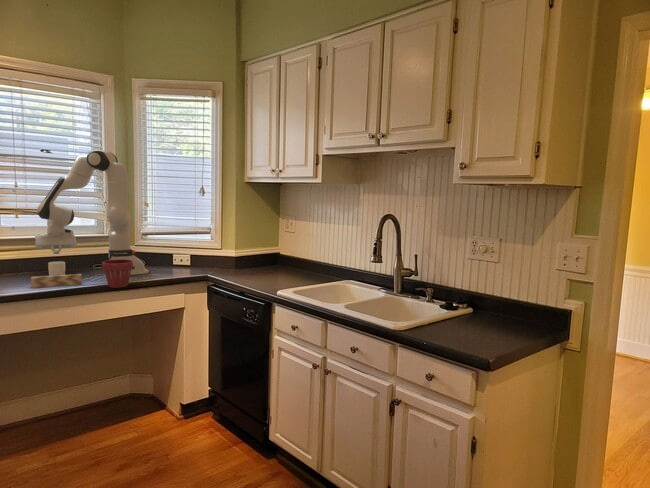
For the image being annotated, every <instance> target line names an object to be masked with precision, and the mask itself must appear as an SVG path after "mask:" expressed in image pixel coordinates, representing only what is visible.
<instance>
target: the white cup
mask: <svg viewBox="0 0 650 488" xmlns="http://www.w3.org/2000/svg"><path fill="white" fill-rule="evenodd" d="M47 267H48V268H47V269H48V276H55V275H66V262H65V261H50V262H48V263H47Z"/></svg>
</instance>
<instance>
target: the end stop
mask: <svg viewBox="0 0 650 488" xmlns="http://www.w3.org/2000/svg"><path fill="white" fill-rule="evenodd" d="M82 274H83V273H77V274H74V273H73V274H65V275H55V276H49V275H39V276H31V277H30V281H31V283H30V284H31V285H30V286H31V289H32V288H35V289H36V288H45V287H47V288H48V287H61V286H76V285H77V286H78V285H83V278H82V277H83V275H82Z"/></svg>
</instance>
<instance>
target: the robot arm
mask: <svg viewBox="0 0 650 488" xmlns="http://www.w3.org/2000/svg"><path fill="white" fill-rule="evenodd" d="M96 170H97V171H101V172H105V173H106V177H107V178H106V179H107V181H106V182H107V183H106V184H107V205H106V206H107V207H106V213H107V214H106V218H107V221H108V222H109V234H108V239H109V241H108V245H109V249H108V260H116V259H127V260H132V261H133V268H132V269H131V273H130V276H132V275H133V276H134V275H143V274H148V273H149V272H150V271H149V269H147V268H146V267H145V263H144V261H142V260H141V259H140V258H138V257H137V256H136V255H135V254H136V250H134V249H132V248H131V212H130V210H129V199H130V198H129V197H130V194H129V193H130V192H129V191H130V190H129V176H128V170H127V167H126V165H125V164H123V163H121V162H119V161H118V157H117V156H116V155H115V154H114V153H112V152H109V151H106V150H100V149H93V150H91V151H90V152H88V153H87V155H86V154H80V155H78V156H77V158H76V159H75V160H74V162H73V164H72V166H71V168H70V170H69V172H68V173H66V175H64V176H61V177H59V178H58V179H57V180H56V182H55V183H54V185H53V186H52V188H51V189H50V190H49V192H48V193H47V195H45V197H44V199H43V200H42V201H41V202H40V203H39V205H38V206H37V209H36V213H37V215H38V216H39V218H40V219H41V220H43V219H44V220H47V221H46V223H47V229H46V232H47V233H44V234H41V233H39V234H37V235H35V236H34V241H35V242H34V244H35V246H34V247H35V249H37V250H44V249H46V250H47V249H49V250H51V251H52V252H53V255H60V252H61V251H62V249H75V248H76V247H77V246H78V245H77V238H76V236H75V234H74V230H72V229H67V228H65V227H67V226H69V225H70V224H72V223H73V221H74V219H75V212H74V209H72V208H71V207H68V206H64V205H60V204H57V203H55V201H56V200H57V198H58V197H59V195H60V194H61V192H63V191H66V190H79V189H83V188H86V186H87V185H88V184H89V183H90V180H91V178H92V176H93V173H94V172H95V171H96Z"/></svg>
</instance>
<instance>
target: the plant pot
mask: <svg viewBox="0 0 650 488" xmlns="http://www.w3.org/2000/svg"><path fill="white" fill-rule="evenodd" d="M101 267H102V271H104V274H105V279H106V281H107V284H108V287H109V288H111V289H112V288H116V289H119V288H124V287H127V286H129V283H130V282H129V281H130V277H131V275H130V273H131V269H132V268H133V261H132V260H127V259H116V260H109V259H108V260H104V261H102V262H101Z"/></svg>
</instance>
